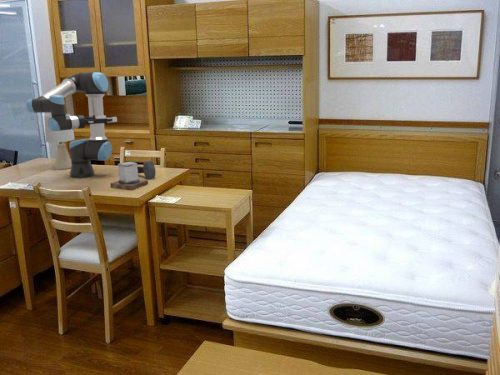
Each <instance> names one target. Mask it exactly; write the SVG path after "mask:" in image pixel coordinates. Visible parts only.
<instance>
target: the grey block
mask: <svg viewBox="0 0 500 375" xmlns="http://www.w3.org/2000/svg"><path fill="white" fill-rule="evenodd" d="M137 166H138V163H137V162H135V161H134V162H133V161H125V162H120V163H117V169H118V170H117V171H118V177H119V178H118V181H119V180H120V181H123V182H126V183H127V182H132V181H137V180H138V179H139V173H138V168H137Z"/></svg>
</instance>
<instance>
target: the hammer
mask: <svg viewBox="0 0 500 375" xmlns="http://www.w3.org/2000/svg"><path fill="white" fill-rule="evenodd" d="M137 168H138V174H143V175H144V176H145V178H146V180H153V179H155V177H156V171H157V170H156V167H155V163H154V162H153V160H145V161H143V165H142V166H138V165H137ZM152 178H153V179H152Z"/></svg>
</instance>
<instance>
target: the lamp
mask: <svg viewBox="0 0 500 375" xmlns="http://www.w3.org/2000/svg"><path fill="white" fill-rule="evenodd" d="M43 116H44V130H45V131H44V132H45V134H44V135H45V142H46V143H57V144H56V152H55V159H54V167H55V170H58V171H59V170H60V171H62V170H71V165H72V163H71V155H70V152H69V151H68V149H67V147H66V145H67V144H66V142H72V141H75V140H76V139H75V137H76V136H75V132H74V130H72V129H70V130H63V131H51V130H50V129H49V127H48V119H49V118H52V115H51V113H48V114H45V115H43ZM66 116H71V114H70V113H67V112H66Z"/></svg>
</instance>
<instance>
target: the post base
mask: <svg viewBox="0 0 500 375" xmlns="http://www.w3.org/2000/svg"><path fill="white" fill-rule="evenodd" d="M147 184H148V185H149V179H140V178H138V180H137V181H132V182H127V183H126V182H123V181H120V180H119V179H118V180H117V181H113V182H111V183H110V188H113V189H120V190H121V189H122V190H128V191H135V190H137V189H139V187H140V188H142V186H143V187H145V186H148V185H147ZM136 188H137V189H136Z"/></svg>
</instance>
